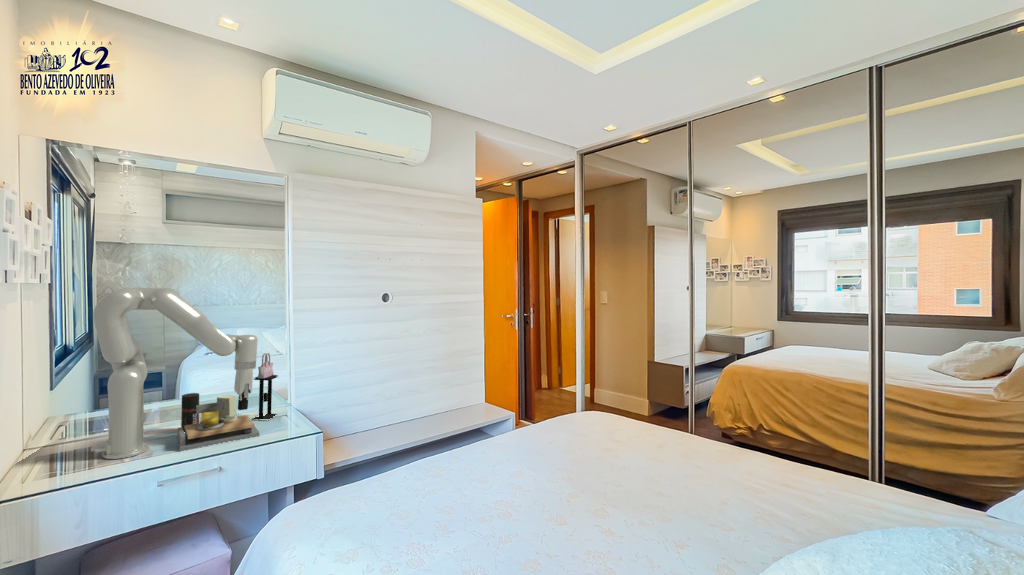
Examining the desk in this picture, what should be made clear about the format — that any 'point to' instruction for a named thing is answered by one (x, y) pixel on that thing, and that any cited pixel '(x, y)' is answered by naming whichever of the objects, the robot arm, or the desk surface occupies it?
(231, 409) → the skincare box
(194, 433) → the level plate
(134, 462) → the desk surface
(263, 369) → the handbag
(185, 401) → the deodorant
